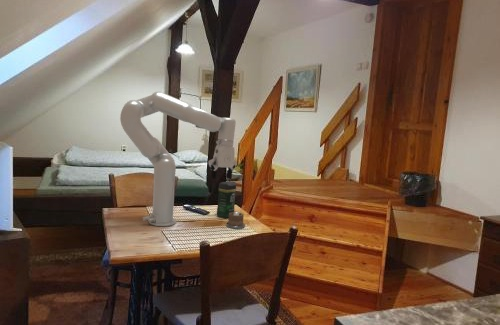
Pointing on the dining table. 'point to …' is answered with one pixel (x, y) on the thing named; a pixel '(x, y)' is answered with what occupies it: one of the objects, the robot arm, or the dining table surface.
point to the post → (235, 226)
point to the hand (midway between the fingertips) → (221, 178)
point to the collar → (235, 219)
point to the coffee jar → (226, 199)
